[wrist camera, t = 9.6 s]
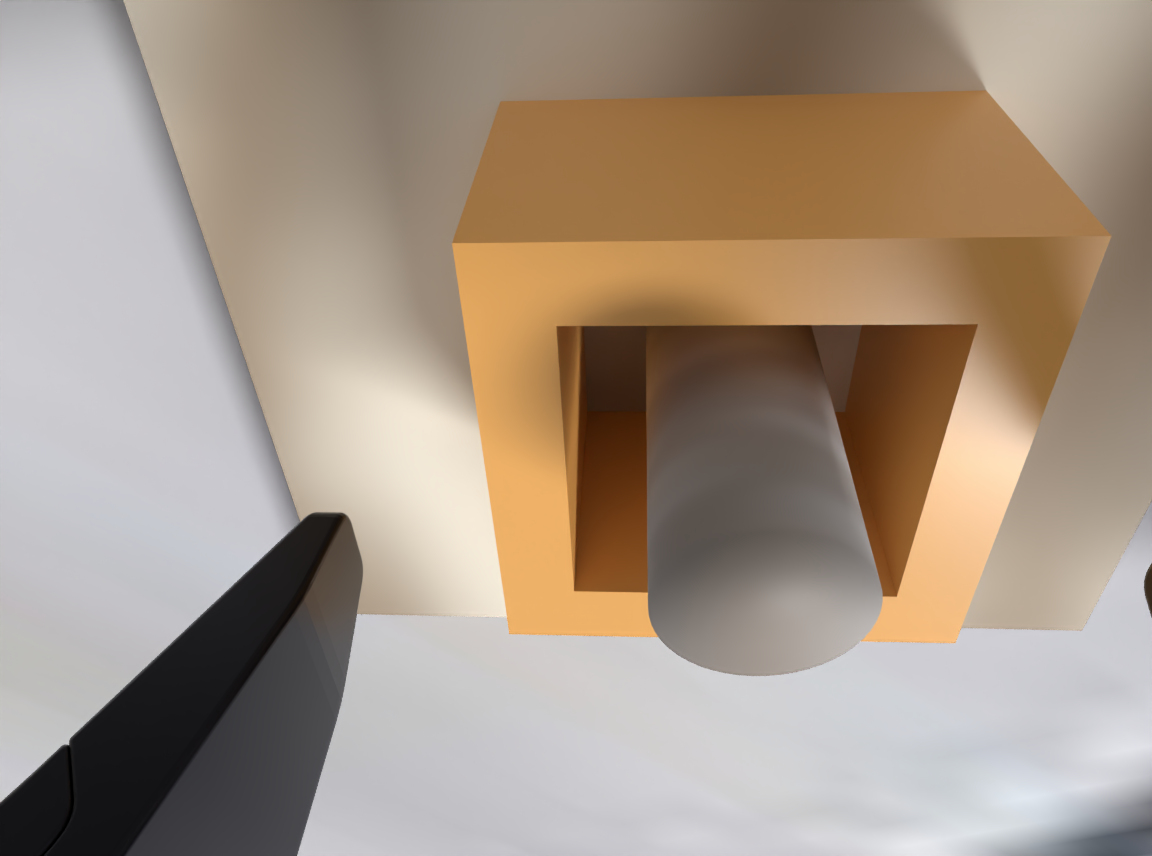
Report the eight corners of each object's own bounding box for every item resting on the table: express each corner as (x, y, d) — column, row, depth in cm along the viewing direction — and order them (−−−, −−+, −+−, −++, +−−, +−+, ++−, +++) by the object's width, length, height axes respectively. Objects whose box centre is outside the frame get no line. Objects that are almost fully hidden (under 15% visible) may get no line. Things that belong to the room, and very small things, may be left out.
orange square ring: (986, 89, 11) (1111, 236, 8) (893, 456, 16) (955, 643, 13) (500, 101, 12) (452, 242, 9) (534, 453, 16) (508, 634, 13)
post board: (1572, -434, 9) (2993, -620, 4) (1064, 593, 19) (1229, 944, 14) (51, -353, 10) (-638, -402, 5) (343, 578, 20) (235, 898, 15)
